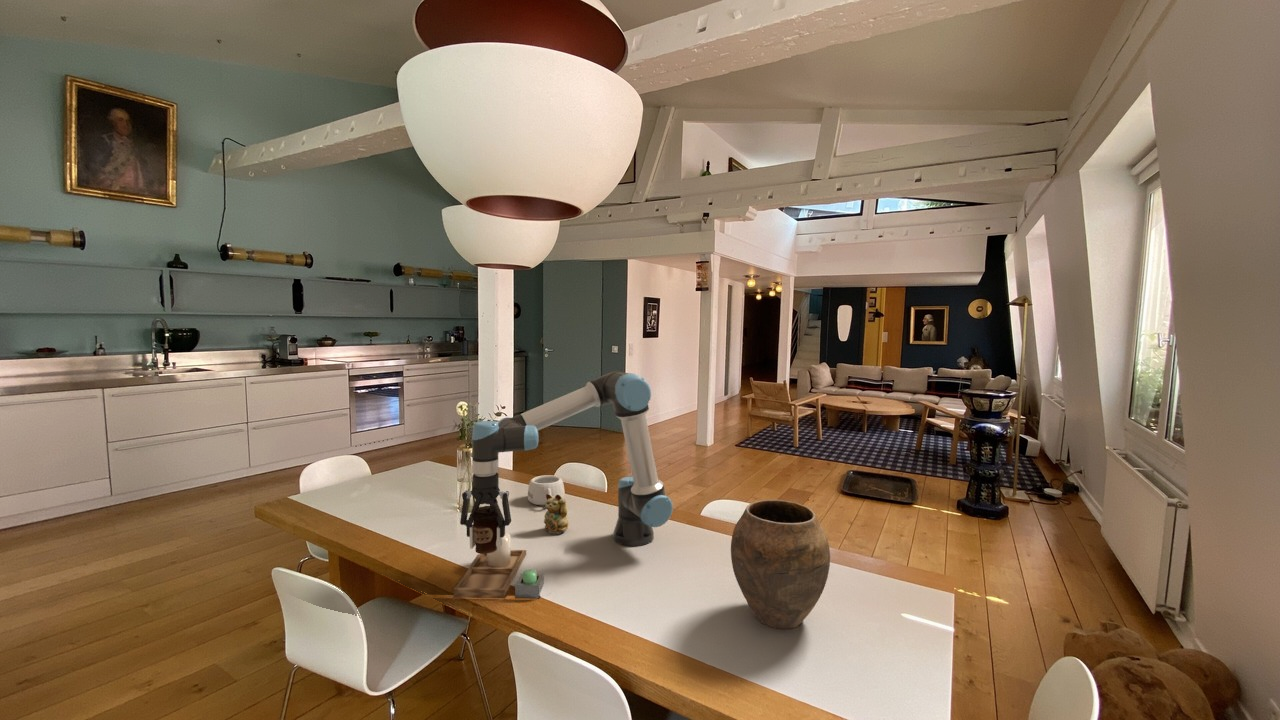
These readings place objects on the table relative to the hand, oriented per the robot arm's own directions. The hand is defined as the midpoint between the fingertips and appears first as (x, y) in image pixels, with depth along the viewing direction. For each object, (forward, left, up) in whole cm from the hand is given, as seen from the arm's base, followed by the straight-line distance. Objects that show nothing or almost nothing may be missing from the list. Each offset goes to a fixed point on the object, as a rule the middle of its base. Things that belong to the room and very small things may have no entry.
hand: (486, 546), depth 157 cm
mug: (-4, -76, -13) cm, 77 cm away
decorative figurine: (-14, -44, -13) cm, 47 cm away
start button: (-14, +3, -11) cm, 18 cm away
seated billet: (0, -13, -11) cm, 17 cm away
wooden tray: (0, -7, -12) cm, 14 cm away
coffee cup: (0, 0, -1) cm, 1 cm away
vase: (-85, +14, -12) cm, 87 cm away
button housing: (-14, +3, -12) cm, 19 cm away
